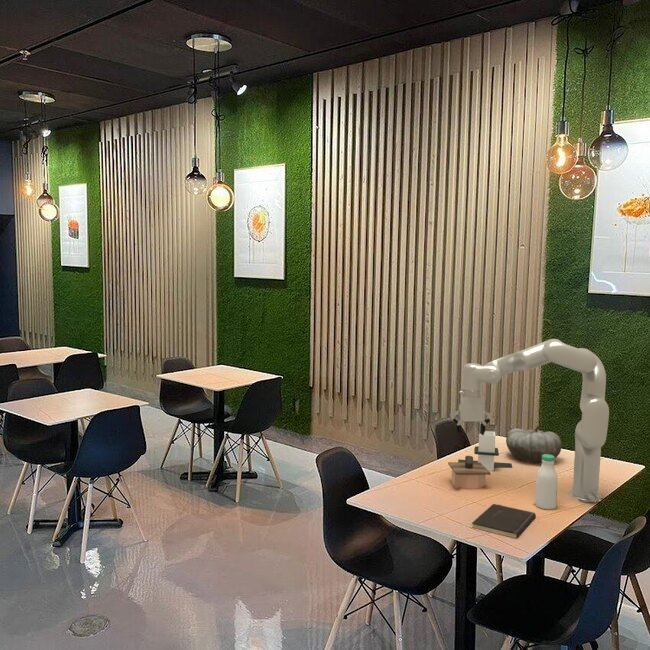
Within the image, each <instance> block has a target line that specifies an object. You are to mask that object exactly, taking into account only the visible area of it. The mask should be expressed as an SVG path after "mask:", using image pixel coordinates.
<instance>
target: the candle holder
mask: <svg viewBox="0 0 650 650" xmlns="http://www.w3.org/2000/svg"><path fill="white" fill-rule="evenodd" d="M473 453H474V455H477V460H473V463H481V464H482V465H483V466H484V467H485V468H486V469H487V470H488V471H489V472H490V471H492V472H493V471H494V470H495V469H513V465H512V463H509V462H500V461H498V462H497V461H495V457H499V456H500V454H499V448H498V447H496V432H495V431H492V430H491V431H489V430H485V433H484V435H482V434H480V433H479V434H478V446H474V448H473ZM457 462H465V459H459V458H458V459H457Z"/></svg>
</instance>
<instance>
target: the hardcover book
mask: <svg viewBox="0 0 650 650" xmlns="http://www.w3.org/2000/svg"><path fill="white" fill-rule="evenodd" d="M536 516H537V514H536V513H535V512H533V511H527V510H525V509H518V508H514V507H509V506H505V505H500V504H496V503H493V504H492V505H490V506H489V507H488V508H486V510H485V511H483V512H482V513H481V514H480V515H479V516H478V517H476V519H475V520H474V521H472V522H471V524H472V528H473V529H477V530H481V531H486V532H488V533H494V534H497V535H501V536H505V537H510V538H513V539H518V538H520V536H521V535H522V533H523V532H525V530H526V529H527V528H528V526H530V525H531V523H532V522H533V521H534V520H535V519H536Z"/></svg>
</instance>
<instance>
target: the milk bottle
mask: <svg viewBox="0 0 650 650" xmlns="http://www.w3.org/2000/svg"><path fill="white" fill-rule="evenodd" d="M555 459H556V458H555V457H554V456H553V455H549V454H544V455H542V462H541V466H540V468H539V469H538V471H537V474H536V483H535V497H534V498H535V499H534V500H535V501H534V505H535V506H536V507H537V508H539V509H543V510H549V511H550V510H555V509H556V508H557V503H558V501H557V499H558V498H557V497H558V481H559V480H558V472H557V471H556V467H555Z"/></svg>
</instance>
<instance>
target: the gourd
mask: <svg viewBox="0 0 650 650" xmlns="http://www.w3.org/2000/svg"><path fill="white" fill-rule="evenodd" d="M539 429H540V426H539V425H536V427H535V428H534V429H522V428H517V427H515V428H512V429H510V430H509V431H507V435H506V437H505V443H506V446H507V449H508V451H509V453H510V454H511V455H512V456H513V457H514V458H517V459H520V460H522V461H527V462H529V463H532V464H539V463H542V455H544V454H549V455H553V456H554V457H555V459H556V458H557V457H558V456H559V455H560V454H561V452H562V451H561V450H562V445H563V443H562V440H561V438H560V436H559V435H558V434H557V433H555V432H553V431H543V430H539Z"/></svg>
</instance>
